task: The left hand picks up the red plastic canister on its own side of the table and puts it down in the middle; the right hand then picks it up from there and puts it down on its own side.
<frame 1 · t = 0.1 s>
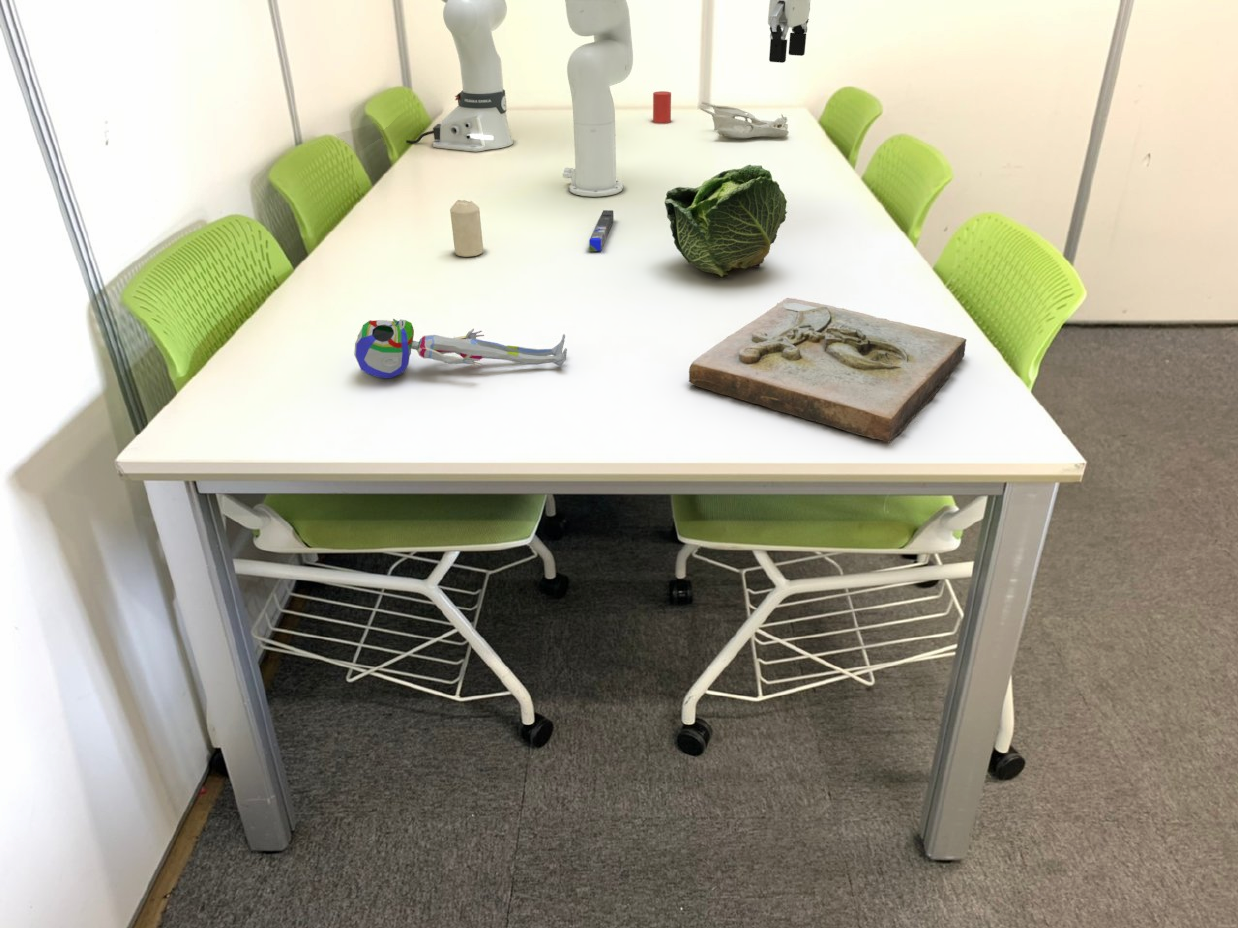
right hand: (787, 58, 176), 31 cm above the table, tool pointing down, fingers open, 9 cm apart
toy: (464, 369, 132), on the table
pillar: (602, 236, 183), on the table
vegetable: (723, 269, 166), on the table
candle: (469, 253, 175), on the table
canister: (661, 121, 275), on the table
anatomical model: (743, 137, 256), on the table
plaque: (830, 372, 129), on the table
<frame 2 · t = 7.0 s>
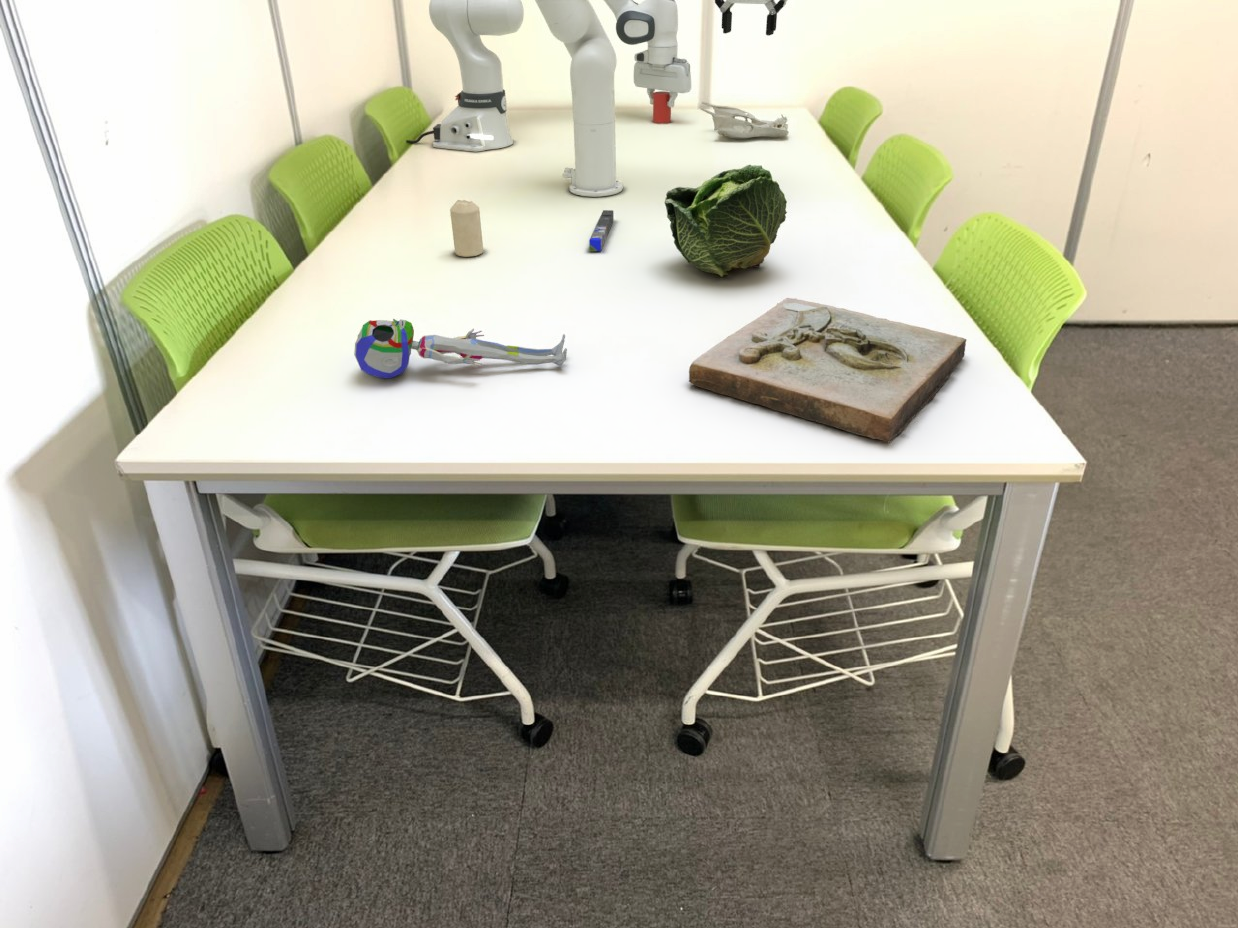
left hand: (661, 105, 273), 5 cm above the table, tool pointing down, fingers closed on canister, 5 cm apart
right hand: (748, 33, 192), 33 cm above the table, tool pointing down, fingers open, 9 cm apart
canister: (661, 121, 275), on the table, touching left hand
everything else where it was.
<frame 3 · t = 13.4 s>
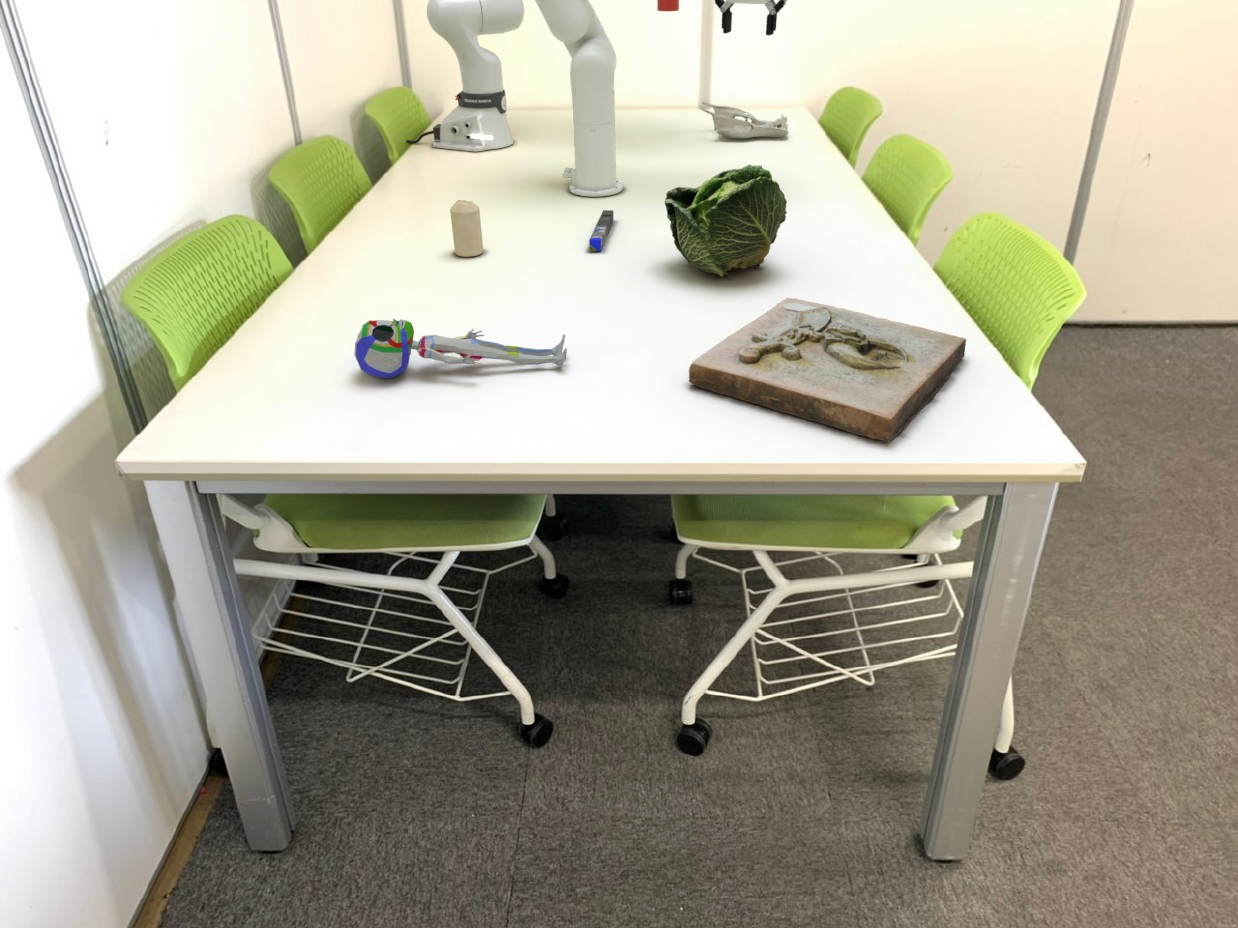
right hand: (748, 33, 192), 33 cm above the table, tool pointing down, fingers open, 9 cm apart
canister: (668, 10, 227), point 34 cm above the table, touching left hand
everything else where it was.
when the left hand's fingers open (6 cm above the table, at t = 19.9 s): canister drops 1 cm, on the table.
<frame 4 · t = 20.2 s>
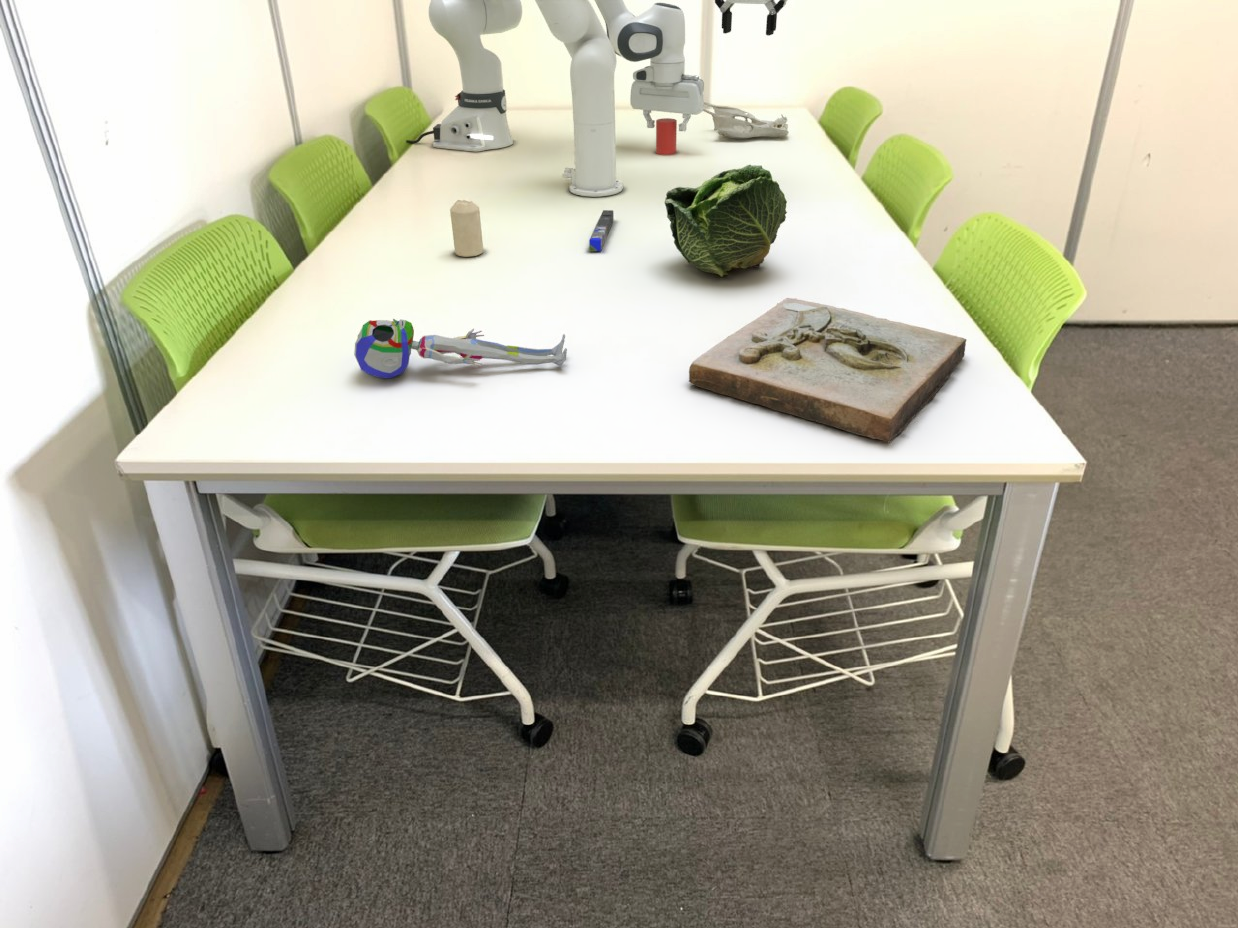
left hand: (666, 129, 239), 6 cm above the table, tool pointing down, fingers open, 8 cm apart
right hand: (748, 33, 192), 33 cm above the table, tool pointing down, fingers open, 9 cm apart
canister: (666, 152, 242), on the table
everything else where it was.
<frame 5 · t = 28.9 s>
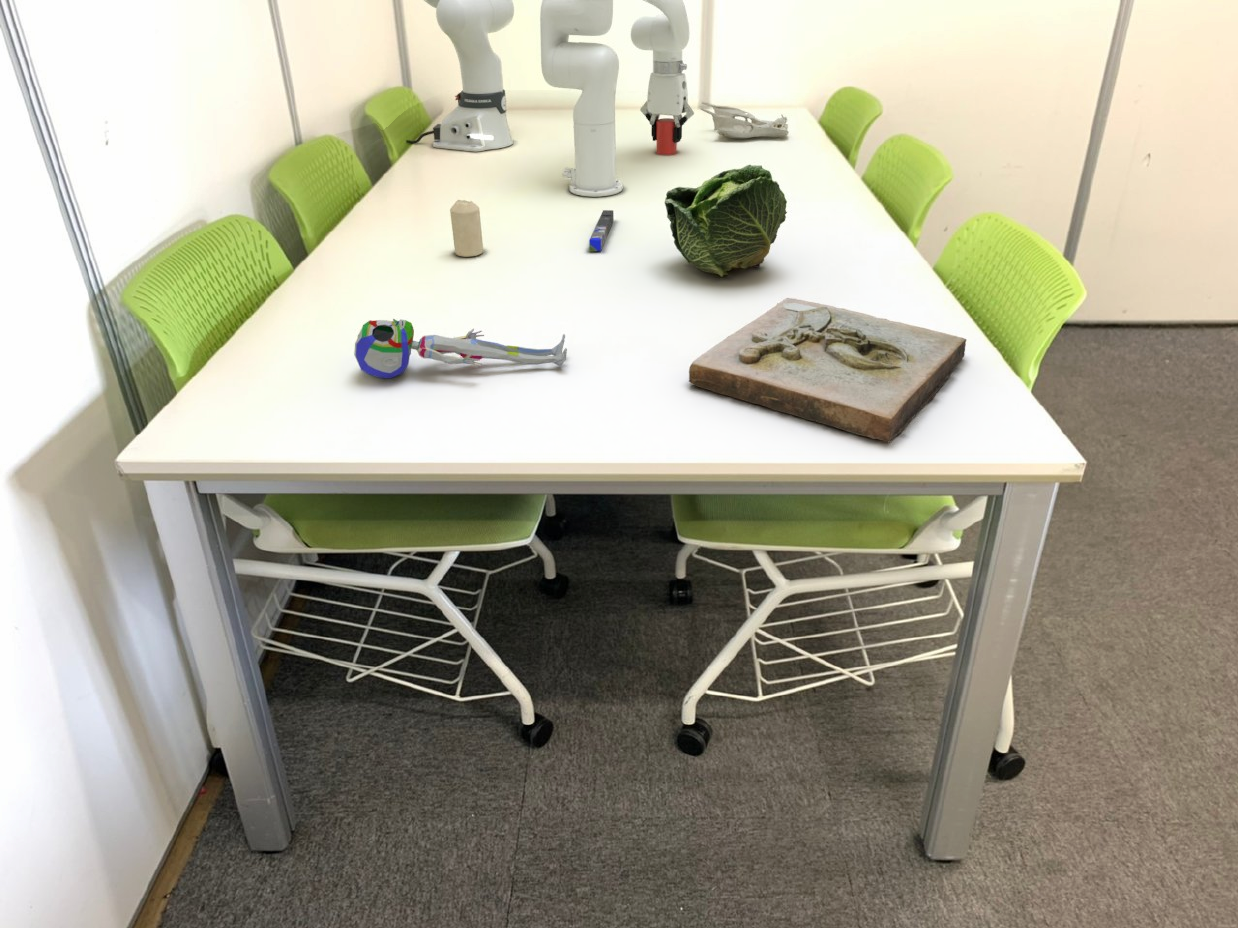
right hand: (666, 140, 240), 3 cm above the table, tool pointing down, fingers closed on canister, 5 cm apart
canister: (666, 152, 242), on the table, touching right hand
everything else where it was.
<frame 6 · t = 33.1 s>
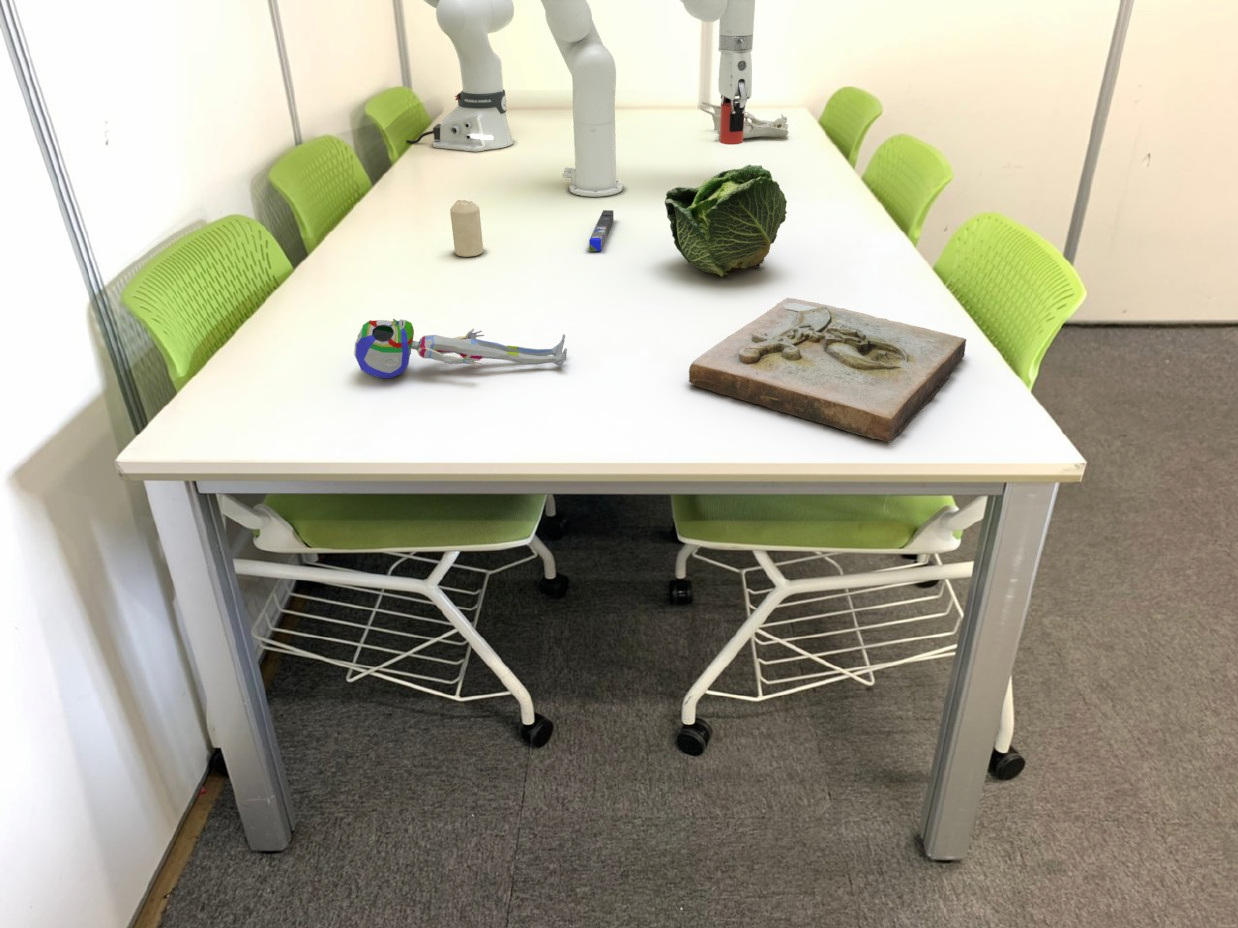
right hand: (731, 127, 209), 13 cm above the table, tool pointing down, fingers closed on canister, 5 cm apart
canister: (731, 142, 211), point 9 cm above the table, touching right hand
everything else where it was.
when the right hand's fingers open (4 cm above the table, at t = 37.3 s): canister drops 1 cm, on the table.
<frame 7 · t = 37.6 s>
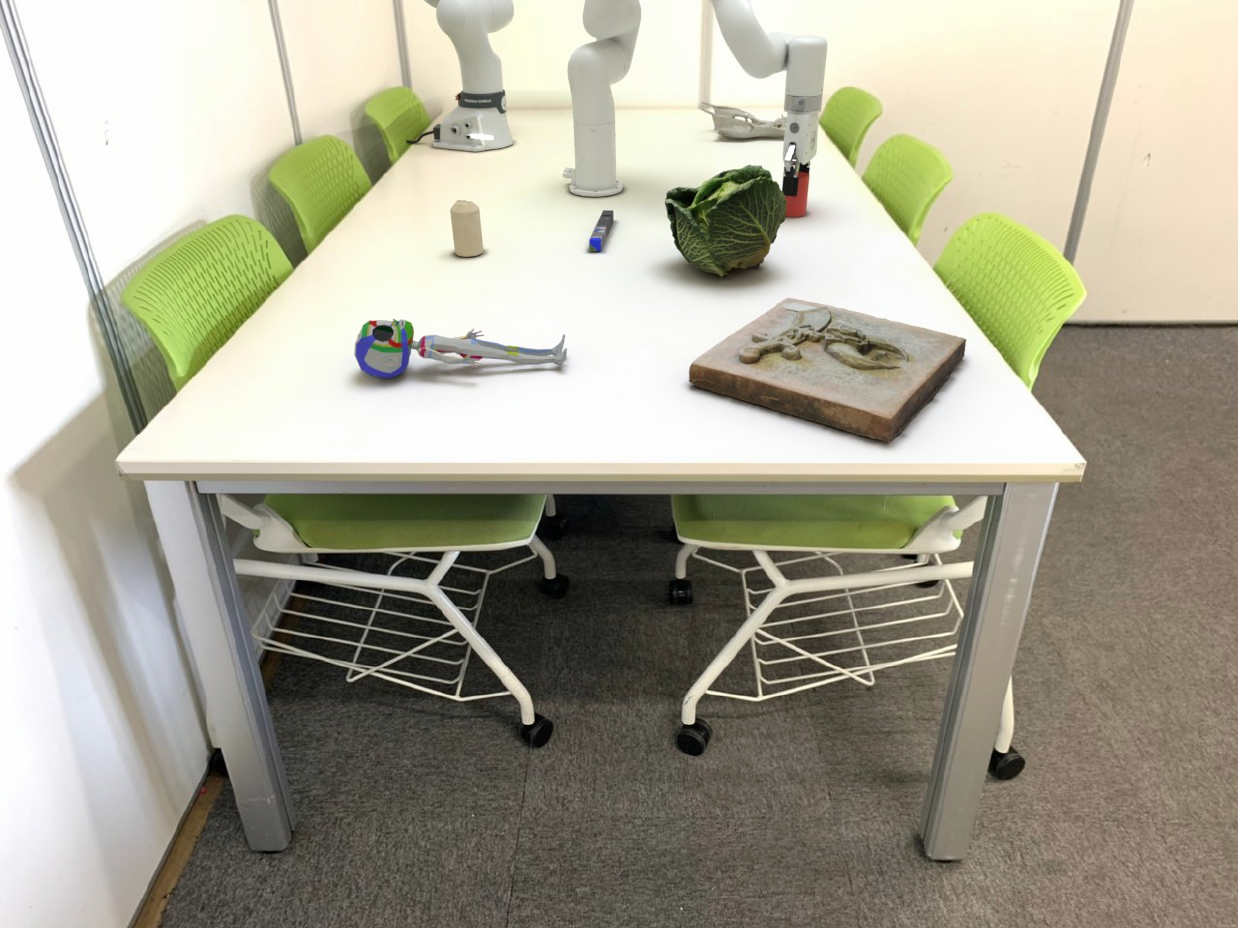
right hand: (795, 190, 191), 5 cm above the table, tool pointing down, fingers open, 7 cm apart
canister: (793, 213, 194), on the table
everything else where it was.
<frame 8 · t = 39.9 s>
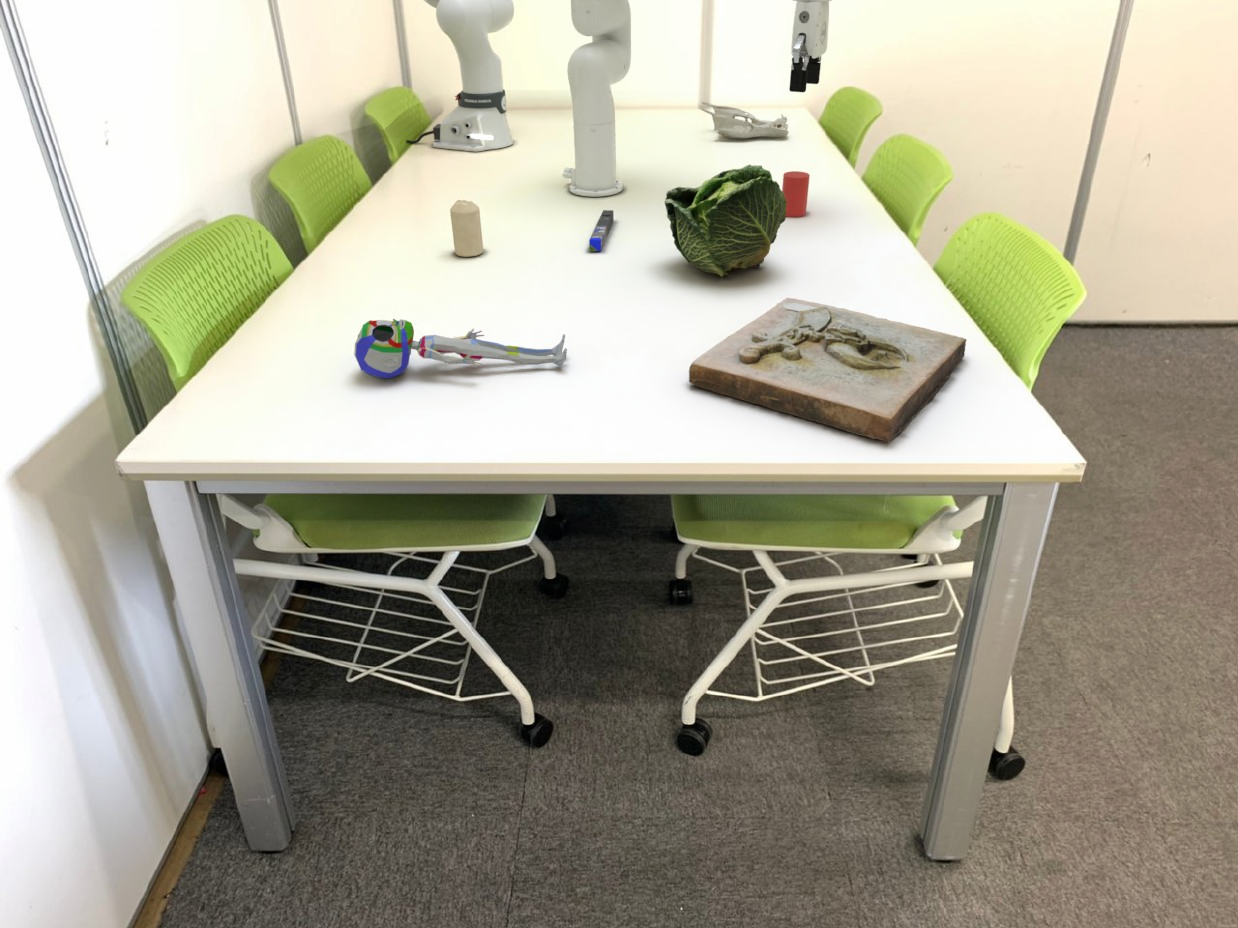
right hand: (804, 87, 180), 25 cm above the table, tool pointing down, fingers open, 9 cm apart
nothing on the table moved.
at the end: canister inside the target area (0.0 cm from its centre), on the table; canister tilted 0°; the two hands never held the canister at the same time; the left hand is holding nothing; the right hand is holding nothing; canister at rest at the end (0.0 cm/s) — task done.
